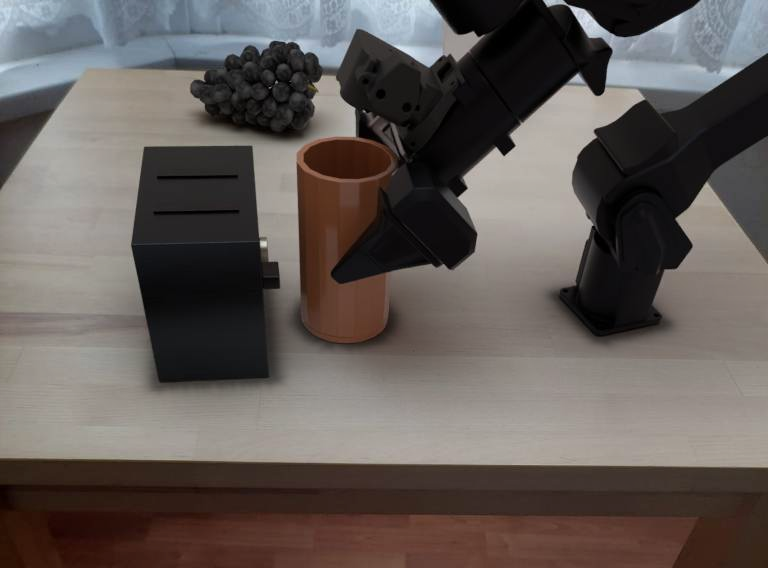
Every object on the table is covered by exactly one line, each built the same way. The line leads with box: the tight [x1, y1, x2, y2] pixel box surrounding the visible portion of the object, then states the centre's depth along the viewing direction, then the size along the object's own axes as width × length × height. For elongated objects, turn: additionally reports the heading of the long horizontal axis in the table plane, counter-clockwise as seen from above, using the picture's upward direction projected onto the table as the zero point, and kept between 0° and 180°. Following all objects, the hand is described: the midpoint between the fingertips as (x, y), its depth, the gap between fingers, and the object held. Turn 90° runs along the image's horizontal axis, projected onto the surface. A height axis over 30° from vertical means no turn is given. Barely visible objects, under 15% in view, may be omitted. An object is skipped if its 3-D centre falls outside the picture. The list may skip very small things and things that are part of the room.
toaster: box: [130, 145, 281, 383], centre depth 58 cm, size 9×14×11 cm, turn 8°
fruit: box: [189, 40, 324, 133], centre depth 85 cm, size 9×8×15 cm
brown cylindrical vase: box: [295, 136, 398, 344], centre depth 59 cm, size 7×7×13 cm
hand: (328, 245), depth 59 cm, fingers open, 9 cm apart
